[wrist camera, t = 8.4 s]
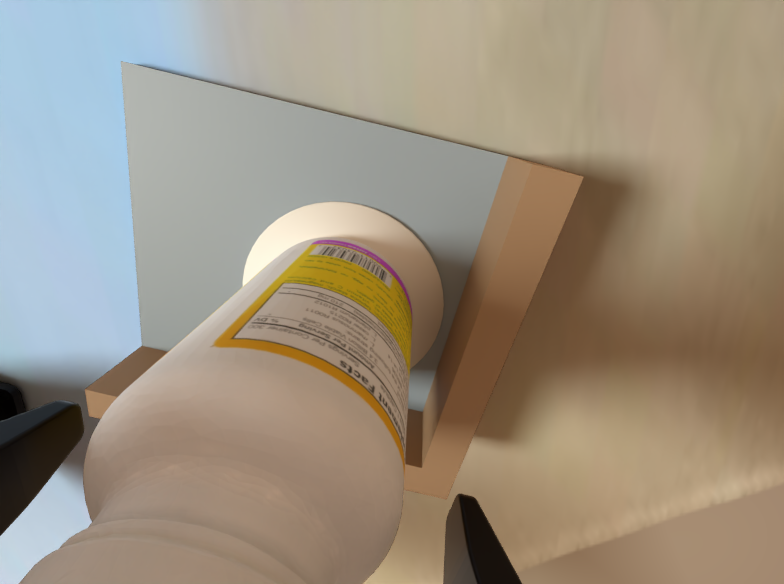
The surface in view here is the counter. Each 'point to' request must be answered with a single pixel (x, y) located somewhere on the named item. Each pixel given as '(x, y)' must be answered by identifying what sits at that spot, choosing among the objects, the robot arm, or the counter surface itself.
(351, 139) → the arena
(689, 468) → the counter surface
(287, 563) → the supplement bottle
